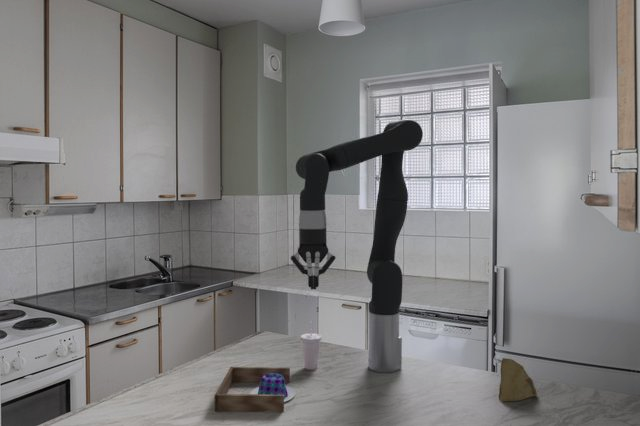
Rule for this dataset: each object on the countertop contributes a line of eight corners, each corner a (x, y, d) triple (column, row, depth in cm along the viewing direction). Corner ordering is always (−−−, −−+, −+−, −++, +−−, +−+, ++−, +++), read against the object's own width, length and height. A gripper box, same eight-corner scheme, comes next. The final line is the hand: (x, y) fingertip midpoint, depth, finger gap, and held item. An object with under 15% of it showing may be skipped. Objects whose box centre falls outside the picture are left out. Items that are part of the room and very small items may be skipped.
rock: (535, 381, 129) (497, 372, 132) (543, 363, 124) (502, 354, 127) (536, 418, 122) (495, 408, 125) (544, 401, 116) (501, 391, 119)
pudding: (300, 389, 130) (300, 370, 130) (287, 409, 118) (287, 388, 118) (259, 384, 133) (259, 366, 133) (242, 403, 121) (242, 383, 121)
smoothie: (322, 364, 148) (322, 319, 147) (320, 371, 141) (320, 325, 141) (302, 363, 148) (302, 318, 148) (299, 371, 142) (299, 324, 141)
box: (289, 381, 134) (289, 367, 134) (283, 412, 116) (283, 396, 116) (230, 380, 135) (230, 366, 135) (214, 411, 116) (214, 395, 116)
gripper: (336, 225, 135) (336, 285, 136) (289, 225, 135) (290, 286, 136) (337, 227, 127) (337, 291, 128) (287, 228, 127) (288, 292, 128)
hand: (313, 288), depth 132 cm, fingers closed
